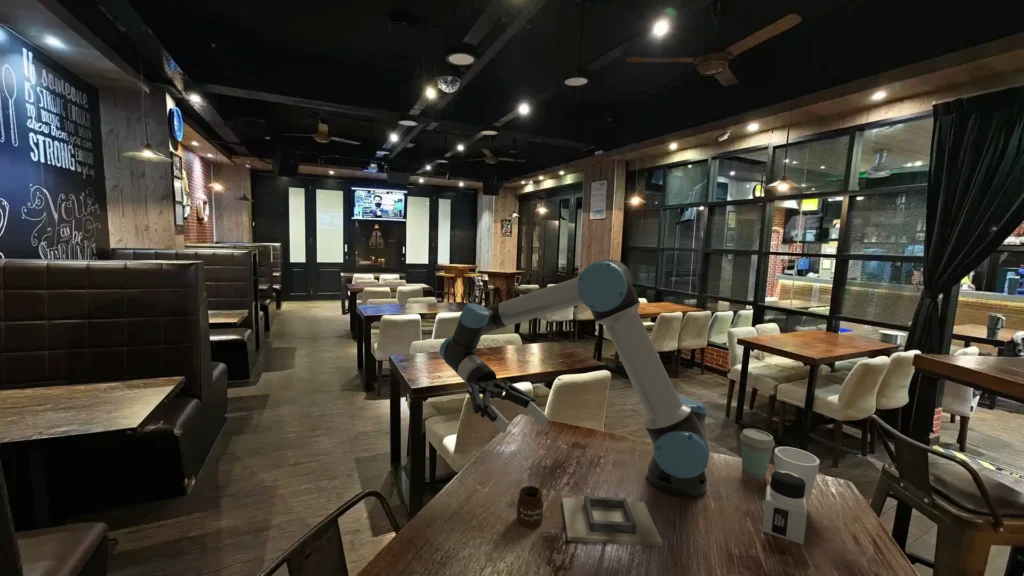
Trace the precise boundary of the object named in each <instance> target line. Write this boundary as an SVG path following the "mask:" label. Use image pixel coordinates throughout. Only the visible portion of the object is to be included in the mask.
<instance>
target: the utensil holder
mask: <svg viewBox="0 0 1024 576" xmlns="http://www.w3.org/2000/svg"><path fill="white" fill-rule="evenodd" d="M546 476H547V470H546V468H545V469H544V470H543V474H542V477H541V478H540V485H539V487H537V486H533V485H529V482H530V481H529V480H528V479H529V477H528V476H527V475H526V474H521V475H519V476H518V479H517V480H518V485H519V487H518V488H519V492H518V496H519V497H518V499H517V503H516V504H517V506H516V520H517V522H518V524H519V525H520V526H522V527H523V528H527V529H536V528H537V527H539V526H540V525H541V524H542V523H543V517H544V501H543V492H542V486H544V483H545V481H546V480H545V479H546ZM520 478H522V484H523V486H521V484H520V483H521V479H520ZM524 478H525V480H526V481H527V482H526V486H525V484H524V483H525V482H524Z"/></svg>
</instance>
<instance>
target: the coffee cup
mask: <svg viewBox="0 0 1024 576" xmlns="http://www.w3.org/2000/svg"><path fill="white" fill-rule="evenodd" d="M739 438H740V442H741V443H740V444H741V446H740V447H741V448H740V449H741V472H742V474H743V475H745V476H746V477H747V478H750V479H752V480H756V481H762V480H765V479H766V476H767V473H768V468H769V465H770V462H771V458H772V453H773V449H774V447H775V445H776V444H775V440H774V437H773V435H772V434H770V433H769V432H766V431H764V430H761V429H757V428H745V429H742V432H741V434H740V436H739ZM767 464H768V465H767Z"/></svg>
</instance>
